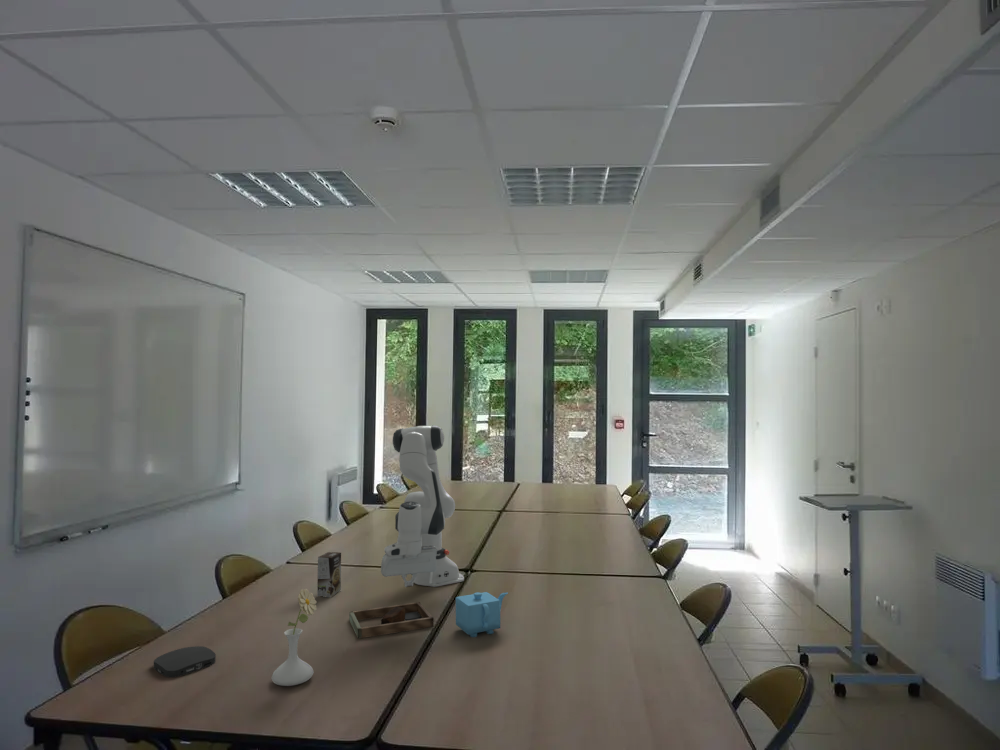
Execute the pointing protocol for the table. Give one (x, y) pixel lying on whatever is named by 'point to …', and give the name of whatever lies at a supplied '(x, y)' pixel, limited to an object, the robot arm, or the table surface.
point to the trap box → (390, 627)
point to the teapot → (478, 613)
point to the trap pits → (412, 616)
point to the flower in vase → (294, 667)
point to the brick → (394, 616)
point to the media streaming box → (184, 661)
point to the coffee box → (329, 574)
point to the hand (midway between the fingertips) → (408, 586)
